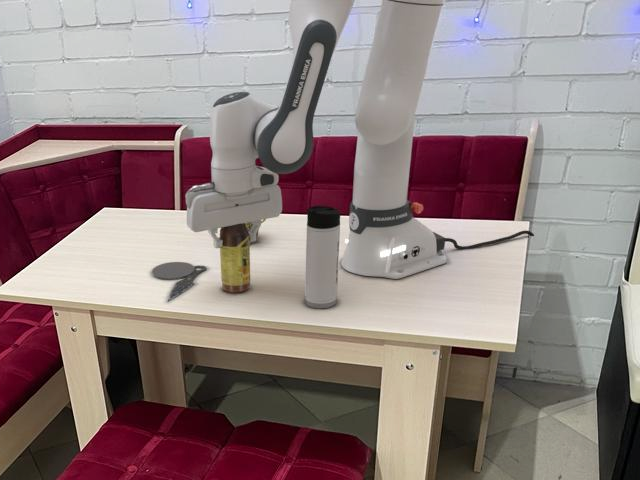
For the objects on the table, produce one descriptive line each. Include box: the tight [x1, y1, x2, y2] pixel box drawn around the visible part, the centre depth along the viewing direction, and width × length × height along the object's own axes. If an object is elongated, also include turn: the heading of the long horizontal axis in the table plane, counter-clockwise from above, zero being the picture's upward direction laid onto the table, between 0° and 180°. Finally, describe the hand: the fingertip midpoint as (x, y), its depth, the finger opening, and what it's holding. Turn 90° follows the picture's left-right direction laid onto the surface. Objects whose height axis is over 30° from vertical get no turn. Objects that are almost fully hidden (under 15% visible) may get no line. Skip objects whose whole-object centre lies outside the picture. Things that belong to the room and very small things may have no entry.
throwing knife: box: [167, 265, 207, 302], centre depth 168 cm, size 4×20×1 cm, turn 154°
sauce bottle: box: [219, 204, 251, 294], centre depth 158 cm, size 6×6×20 cm
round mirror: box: [151, 261, 195, 281], centre depth 174 cm, size 10×10×1 cm
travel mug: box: [304, 205, 341, 309], centre depth 147 cm, size 6×7×20 cm
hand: (235, 243), depth 158 cm, fingers closed on sauce bottle, 6 cm apart
